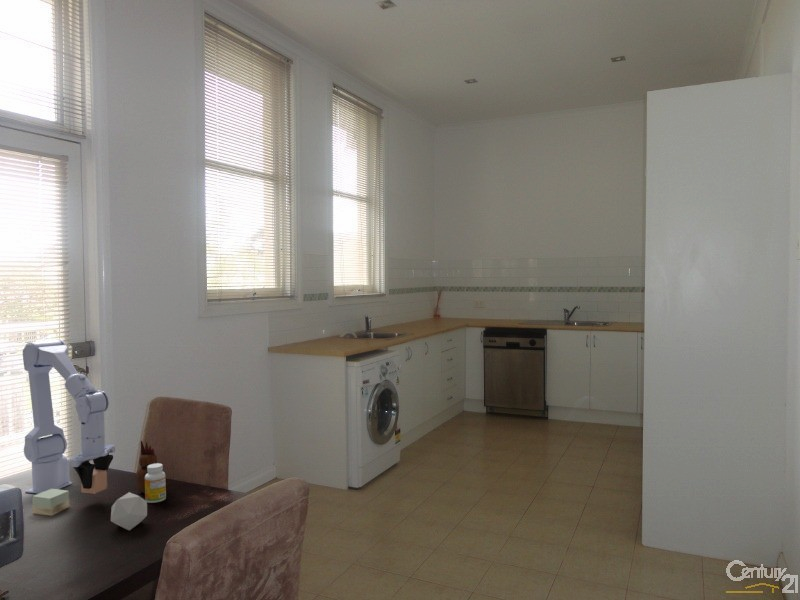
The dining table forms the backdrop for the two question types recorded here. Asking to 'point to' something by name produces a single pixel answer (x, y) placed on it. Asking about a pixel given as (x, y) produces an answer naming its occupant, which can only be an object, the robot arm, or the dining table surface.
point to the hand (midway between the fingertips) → (94, 485)
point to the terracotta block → (97, 482)
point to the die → (129, 511)
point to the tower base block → (50, 509)
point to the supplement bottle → (155, 483)
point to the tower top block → (50, 498)
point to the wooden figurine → (144, 465)
